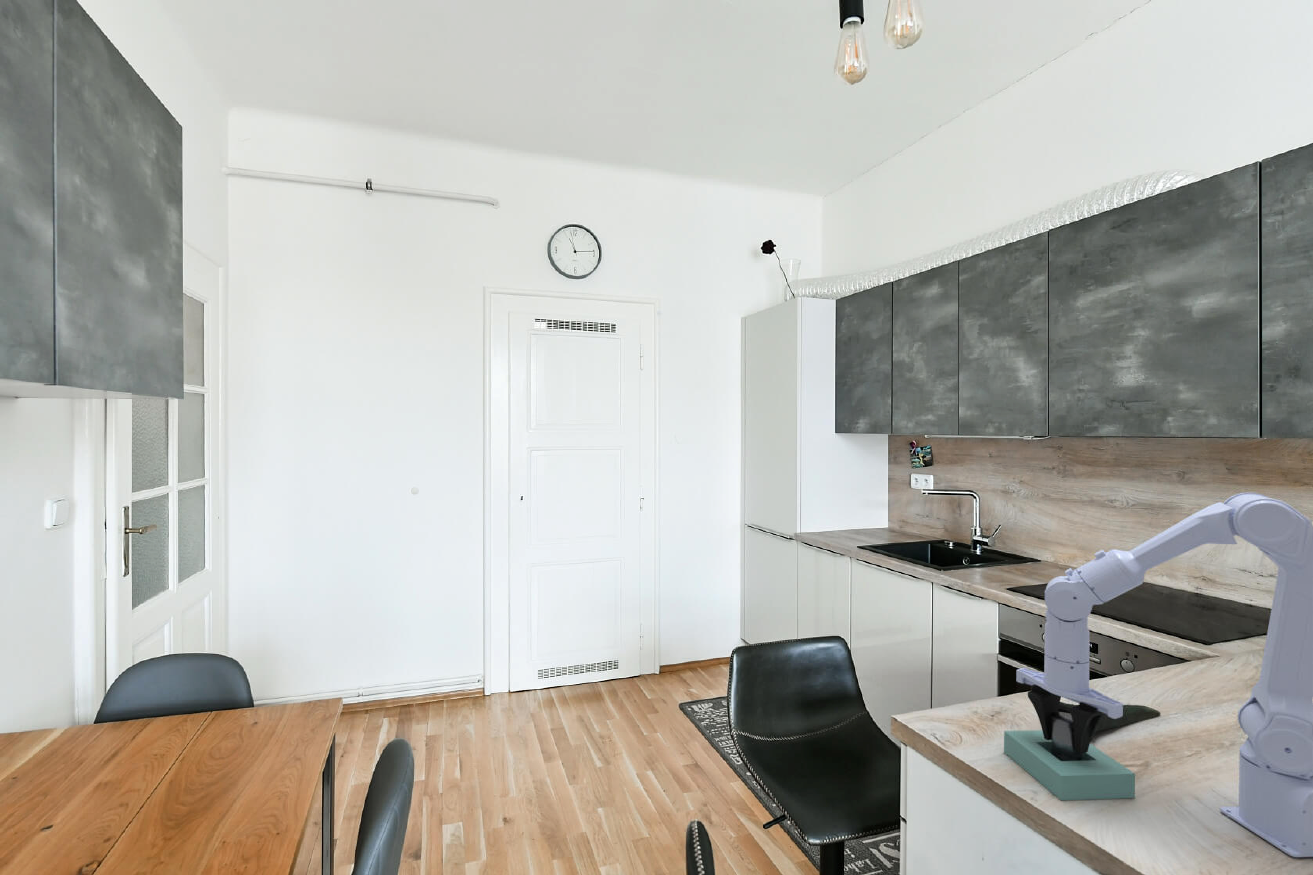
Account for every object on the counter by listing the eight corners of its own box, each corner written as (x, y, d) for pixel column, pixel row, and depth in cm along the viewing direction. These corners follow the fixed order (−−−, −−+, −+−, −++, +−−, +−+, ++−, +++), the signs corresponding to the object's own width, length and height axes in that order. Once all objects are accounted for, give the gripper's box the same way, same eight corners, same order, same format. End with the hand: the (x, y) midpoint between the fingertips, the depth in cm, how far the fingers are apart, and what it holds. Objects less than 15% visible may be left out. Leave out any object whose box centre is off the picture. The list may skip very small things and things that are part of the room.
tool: (1077, 753, 100) (1078, 713, 100) (1040, 734, 107) (1041, 696, 106) (1186, 727, 110) (1187, 690, 110) (1146, 711, 116) (1147, 676, 116)
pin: (1088, 767, 93) (1088, 721, 93) (1070, 772, 91) (1071, 725, 91) (1062, 754, 97) (1062, 710, 97) (1044, 759, 95) (1045, 714, 95)
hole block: (1134, 797, 88) (1135, 773, 88) (1060, 800, 87) (1061, 775, 87) (1068, 750, 101) (1068, 729, 101) (1004, 752, 100) (1004, 730, 100)
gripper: (1135, 668, 89) (1134, 761, 89) (1035, 638, 102) (1034, 719, 102) (1107, 677, 86) (1106, 773, 86) (1008, 644, 99) (1007, 728, 99)
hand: (1065, 745), depth 94 cm, fingers closed on pin, 4 cm apart
